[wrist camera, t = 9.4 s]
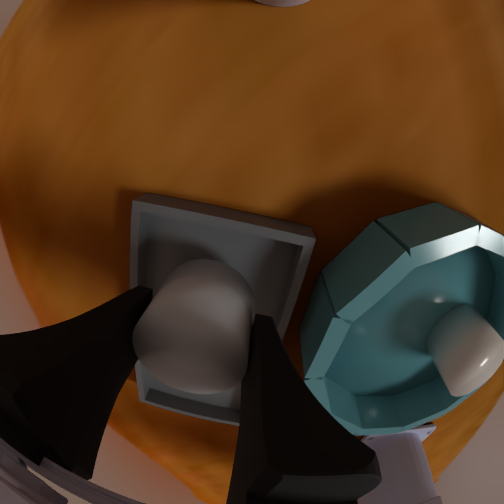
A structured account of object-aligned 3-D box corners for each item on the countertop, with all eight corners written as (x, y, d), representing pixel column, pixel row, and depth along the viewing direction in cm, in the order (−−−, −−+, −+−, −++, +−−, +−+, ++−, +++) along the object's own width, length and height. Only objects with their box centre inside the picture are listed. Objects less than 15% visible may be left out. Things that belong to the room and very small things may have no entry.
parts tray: (249, 410, 17) (247, 427, 16) (146, 385, 17) (139, 401, 16) (311, 226, 12) (316, 238, 10) (147, 192, 12) (132, 200, 10)
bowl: (432, 393, 16) (447, 426, 13) (275, 386, 16) (274, 431, 13) (519, 241, 11) (553, 265, 8) (350, 170, 11) (380, 184, 8)
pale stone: (455, 358, 14) (477, 394, 10) (414, 355, 13) (436, 398, 10) (486, 308, 12) (516, 341, 9) (448, 299, 12) (481, 338, 9)
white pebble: (244, 344, 13) (236, 403, 9) (163, 325, 13) (136, 377, 9) (263, 270, 11) (260, 324, 8) (166, 249, 11) (129, 293, 8)
